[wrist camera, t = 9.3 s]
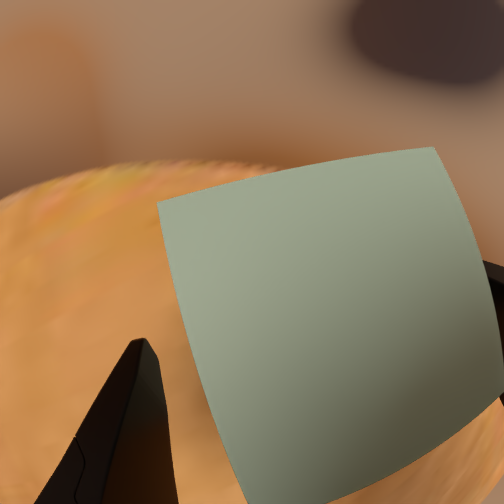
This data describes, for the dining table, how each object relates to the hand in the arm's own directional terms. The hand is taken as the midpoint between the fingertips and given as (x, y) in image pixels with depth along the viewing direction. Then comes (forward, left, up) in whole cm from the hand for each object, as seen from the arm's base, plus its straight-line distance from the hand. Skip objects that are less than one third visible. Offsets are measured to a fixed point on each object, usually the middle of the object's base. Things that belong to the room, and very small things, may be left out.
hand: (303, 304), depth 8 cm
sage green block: (0, 0, -8) cm, 8 cm away
